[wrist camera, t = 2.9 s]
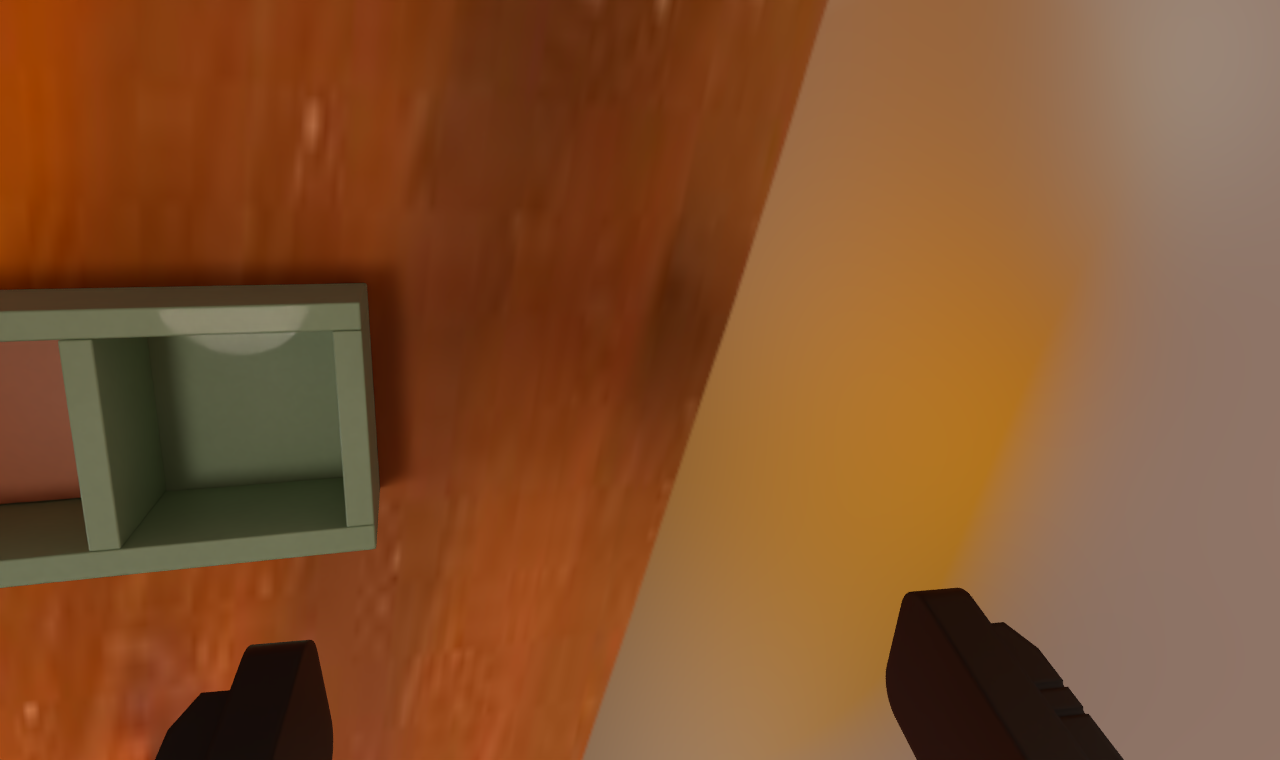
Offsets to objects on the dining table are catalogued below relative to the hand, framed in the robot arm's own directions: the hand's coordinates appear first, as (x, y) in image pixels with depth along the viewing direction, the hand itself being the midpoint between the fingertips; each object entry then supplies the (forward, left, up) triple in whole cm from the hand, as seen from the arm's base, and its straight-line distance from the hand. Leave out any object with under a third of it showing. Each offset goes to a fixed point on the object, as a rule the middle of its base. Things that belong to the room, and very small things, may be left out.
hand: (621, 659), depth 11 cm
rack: (-9, -10, -27) cm, 30 cm away
